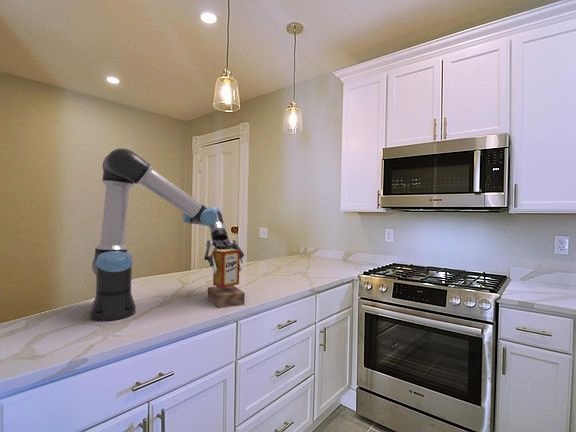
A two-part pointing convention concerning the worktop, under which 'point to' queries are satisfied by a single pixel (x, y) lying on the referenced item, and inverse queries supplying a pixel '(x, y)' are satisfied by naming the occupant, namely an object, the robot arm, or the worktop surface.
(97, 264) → the robot arm
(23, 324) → the worktop surface
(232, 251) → the orange cardboard box
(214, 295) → the block
